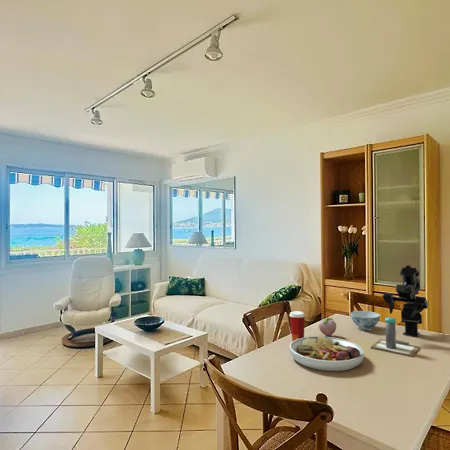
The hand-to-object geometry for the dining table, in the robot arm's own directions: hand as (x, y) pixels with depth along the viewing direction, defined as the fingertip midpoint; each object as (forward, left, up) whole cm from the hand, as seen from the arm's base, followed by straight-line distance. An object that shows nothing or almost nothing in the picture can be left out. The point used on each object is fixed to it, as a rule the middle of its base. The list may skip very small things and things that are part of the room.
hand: (400, 315), depth 155 cm
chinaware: (-15, -22, -14) cm, 30 cm away
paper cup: (+27, -40, -14) cm, 50 cm away
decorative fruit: (+11, -32, -14) cm, 36 cm away
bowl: (+39, -20, -14) cm, 46 cm away
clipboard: (+8, -1, -14) cm, 16 cm away
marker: (+10, -2, -13) cm, 17 cm away
